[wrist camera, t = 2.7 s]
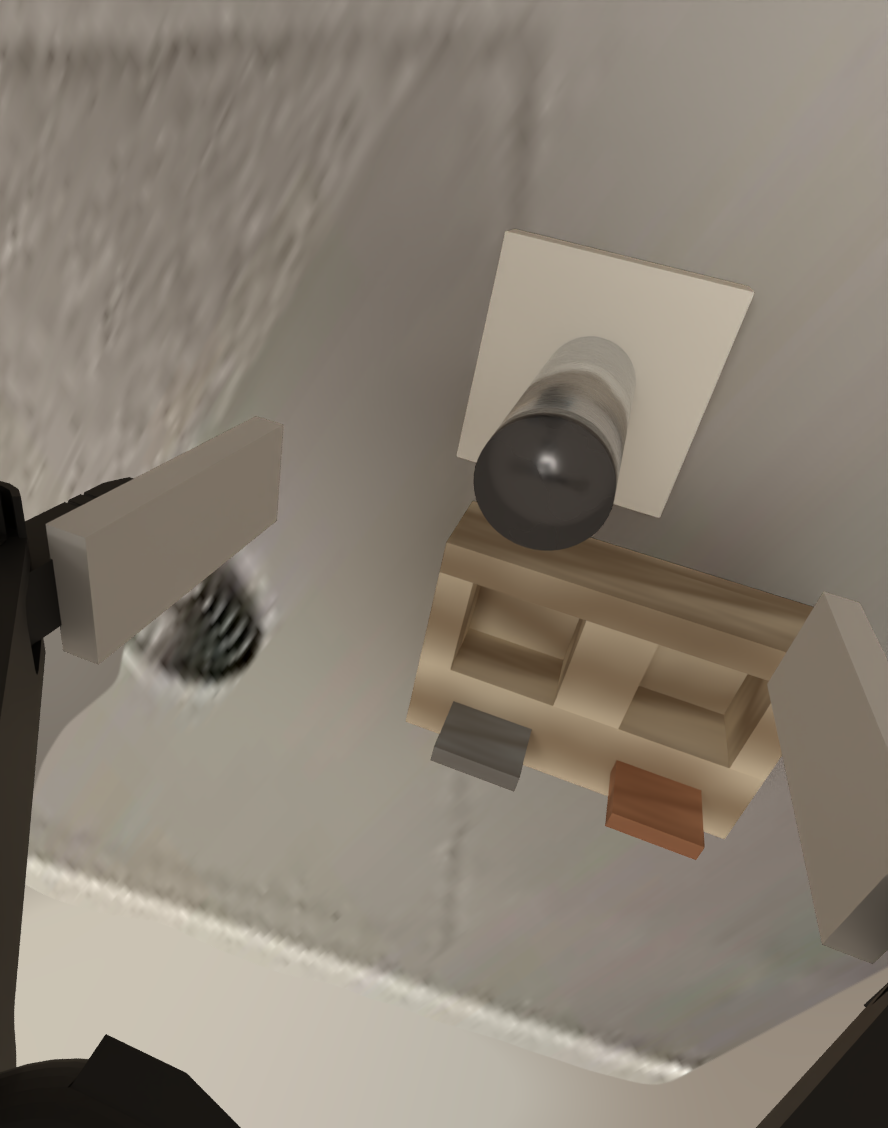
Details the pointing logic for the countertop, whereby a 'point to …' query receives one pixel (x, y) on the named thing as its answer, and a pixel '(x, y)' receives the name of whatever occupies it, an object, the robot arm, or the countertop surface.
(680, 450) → the plate
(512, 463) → the shaker with dark cap
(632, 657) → the socket block
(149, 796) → the countertop surface
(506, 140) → the countertop surface
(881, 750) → the robot arm
